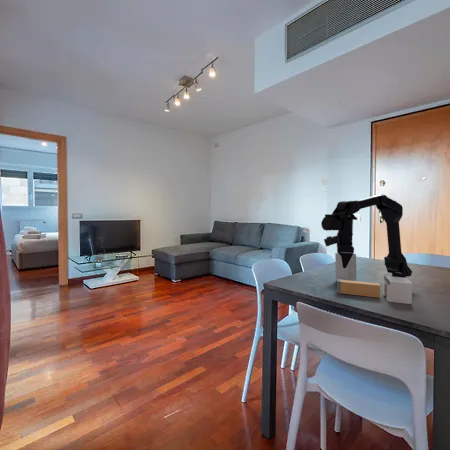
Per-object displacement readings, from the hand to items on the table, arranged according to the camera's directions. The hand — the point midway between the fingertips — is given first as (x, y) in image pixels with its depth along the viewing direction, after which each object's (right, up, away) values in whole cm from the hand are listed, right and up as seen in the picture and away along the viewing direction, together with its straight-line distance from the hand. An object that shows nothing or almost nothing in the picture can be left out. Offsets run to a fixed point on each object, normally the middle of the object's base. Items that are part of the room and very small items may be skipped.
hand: (344, 266), depth 117 cm
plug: (+5, -12, -1) cm, 13 cm away
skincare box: (+8, -11, +18) cm, 23 cm away
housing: (+19, -12, -7) cm, 23 cm away
